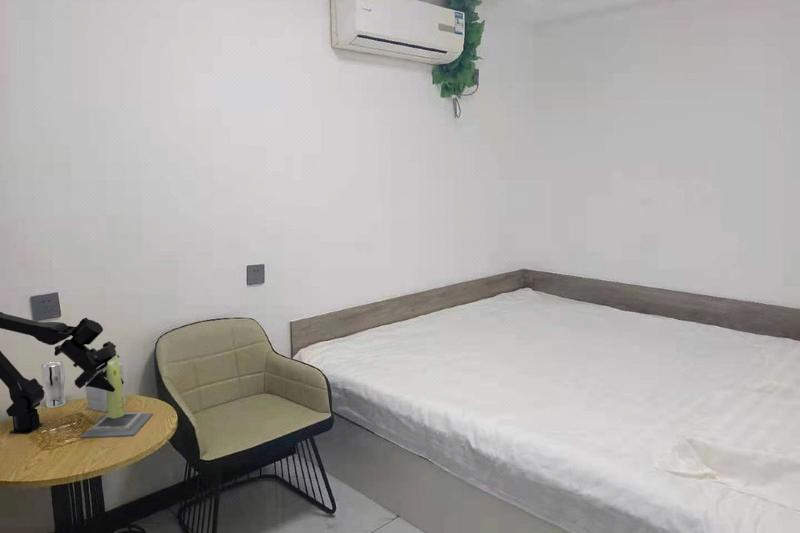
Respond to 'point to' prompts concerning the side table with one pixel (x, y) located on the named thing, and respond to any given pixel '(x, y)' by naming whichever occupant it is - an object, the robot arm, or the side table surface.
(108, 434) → the mat
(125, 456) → the side table surface
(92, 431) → the collar
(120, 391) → the tube
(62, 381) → the beer glass
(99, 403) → the supplement box
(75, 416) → the side table surface
